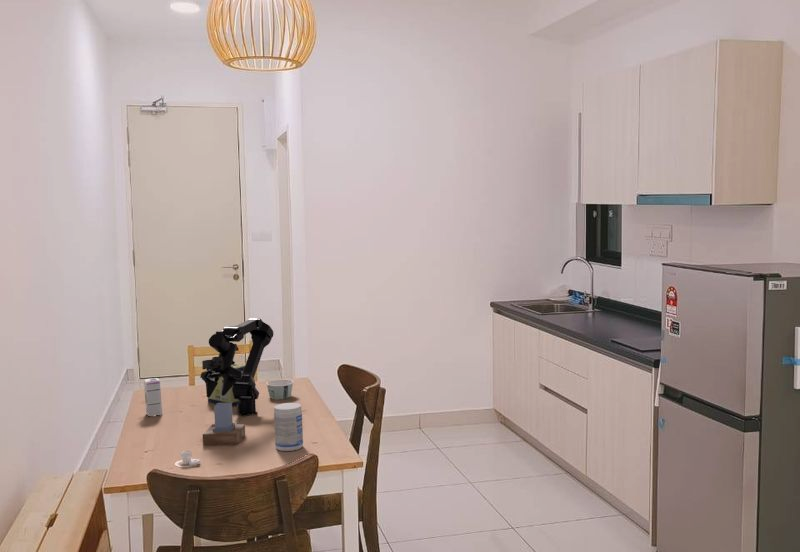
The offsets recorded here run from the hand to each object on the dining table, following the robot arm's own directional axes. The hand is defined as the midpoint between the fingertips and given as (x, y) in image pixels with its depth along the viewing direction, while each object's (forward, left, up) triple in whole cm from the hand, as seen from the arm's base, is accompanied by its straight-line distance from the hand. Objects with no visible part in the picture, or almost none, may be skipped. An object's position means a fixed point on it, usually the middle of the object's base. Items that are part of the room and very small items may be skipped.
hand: (215, 396), depth 282 cm
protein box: (-19, -37, -13) cm, 44 cm away
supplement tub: (-13, +36, -13) cm, 40 cm away
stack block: (+2, +14, -13) cm, 19 cm away
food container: (-40, -30, -13) cm, 52 cm away
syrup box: (+13, -36, -13) cm, 41 cm away
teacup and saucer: (+23, +32, -14) cm, 42 cm away
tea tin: (+2, +14, -9) cm, 17 cm away
